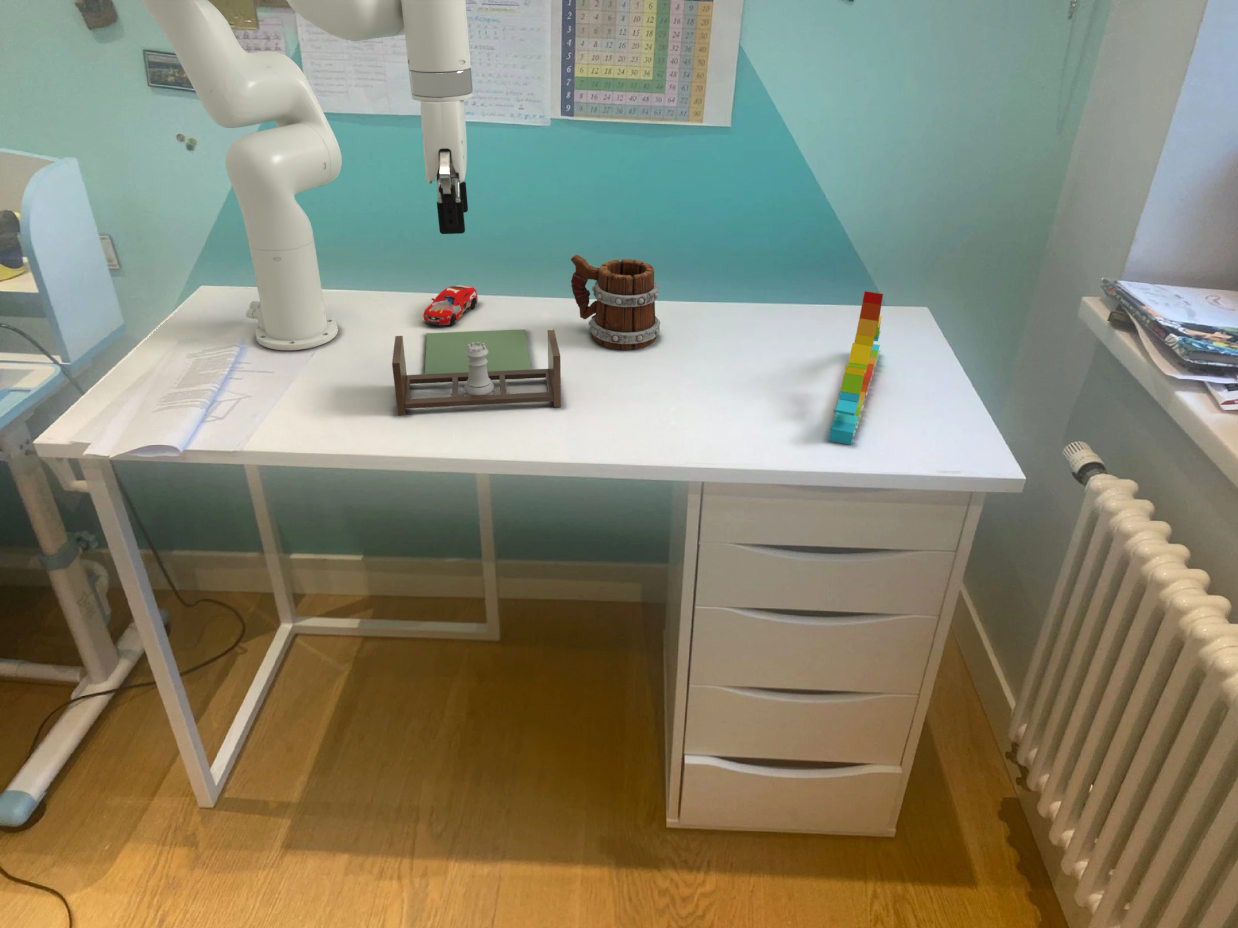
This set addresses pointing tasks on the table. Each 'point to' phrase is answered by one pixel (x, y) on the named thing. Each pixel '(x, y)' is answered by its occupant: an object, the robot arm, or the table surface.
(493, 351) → the mat
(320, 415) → the table surface
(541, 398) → the rack
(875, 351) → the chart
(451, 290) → the race car
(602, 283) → the mug
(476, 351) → the rook chess piece
